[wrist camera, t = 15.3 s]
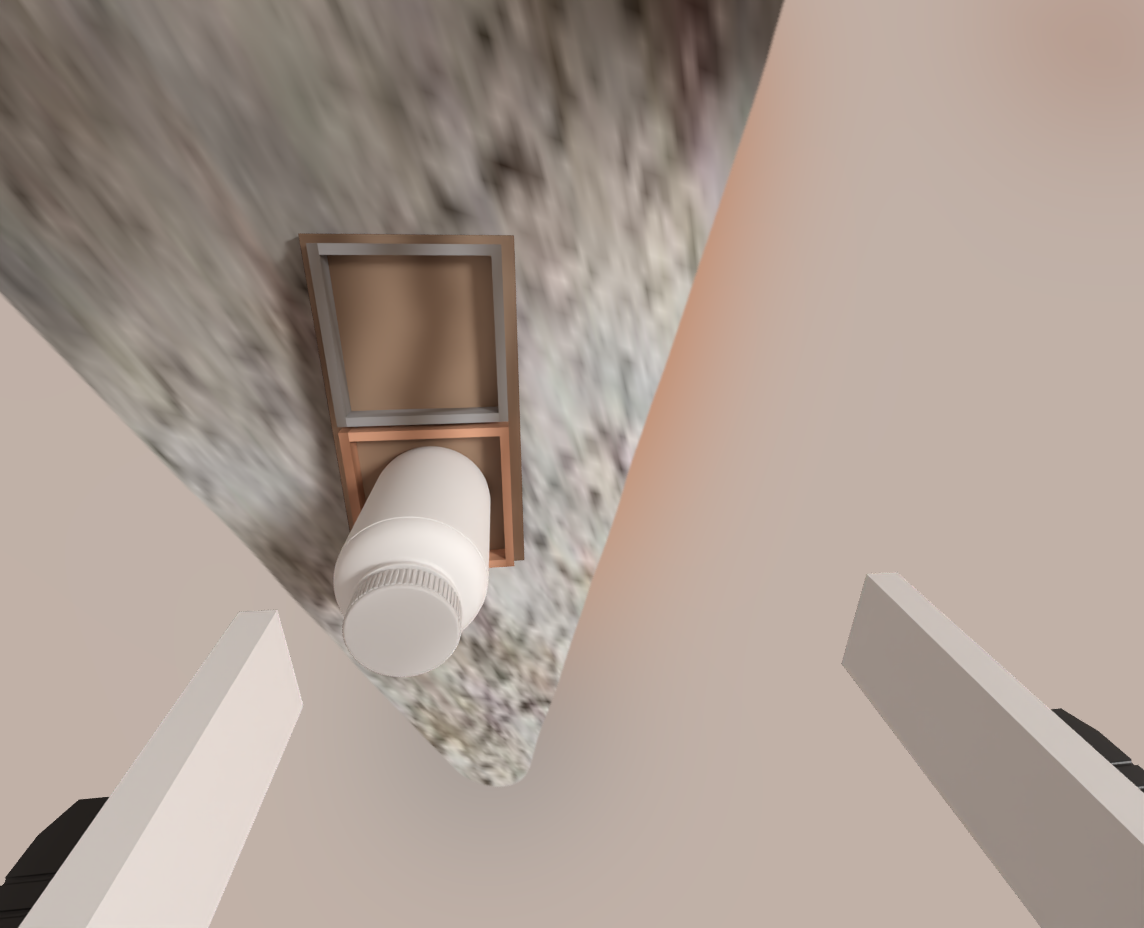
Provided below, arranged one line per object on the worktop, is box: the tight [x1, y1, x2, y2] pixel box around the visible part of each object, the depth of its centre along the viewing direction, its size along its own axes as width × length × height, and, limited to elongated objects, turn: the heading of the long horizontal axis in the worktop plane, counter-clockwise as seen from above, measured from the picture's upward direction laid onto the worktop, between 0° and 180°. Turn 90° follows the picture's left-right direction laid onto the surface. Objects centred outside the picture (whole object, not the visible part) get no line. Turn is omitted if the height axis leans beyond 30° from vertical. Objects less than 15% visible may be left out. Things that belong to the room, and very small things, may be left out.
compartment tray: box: [298, 234, 524, 568], centre depth 36 cm, size 12×23×3 cm, turn 0°
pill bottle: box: [333, 446, 490, 677], centre depth 31 cm, size 8×8×15 cm
